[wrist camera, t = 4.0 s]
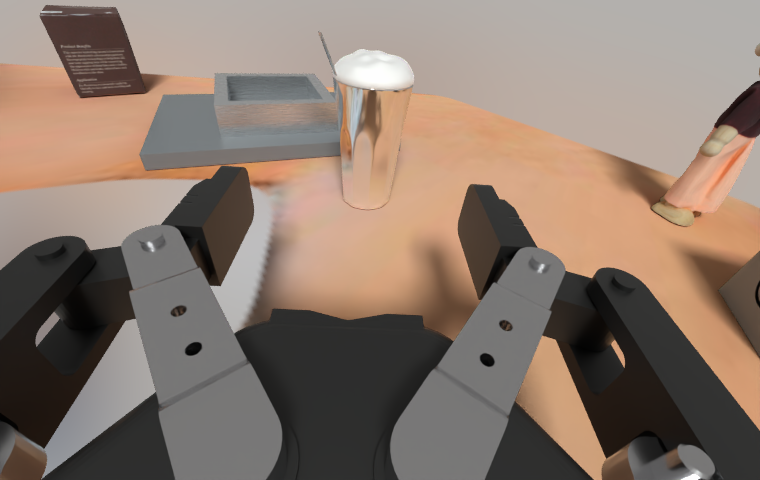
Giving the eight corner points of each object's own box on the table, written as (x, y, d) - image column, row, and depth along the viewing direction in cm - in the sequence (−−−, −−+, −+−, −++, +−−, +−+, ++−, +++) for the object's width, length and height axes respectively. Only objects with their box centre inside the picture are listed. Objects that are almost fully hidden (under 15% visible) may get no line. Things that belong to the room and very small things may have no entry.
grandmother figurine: (705, 242, 23) (901, 23, 15) (642, 217, 25) (788, 11, 17) (709, 201, 28) (861, 20, 20) (656, 184, 29) (775, 11, 21)
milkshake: (313, 188, 24) (306, 24, 18) (381, 178, 26) (395, 28, 20) (334, 223, 21) (333, 40, 15) (408, 209, 23) (436, 42, 17)
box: (142, 80, 40) (118, 6, 36) (147, 94, 36) (120, 14, 32) (79, 83, 37) (44, 4, 33) (77, 99, 34) (36, 12, 29)
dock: (145, 170, 24) (125, 118, 22) (167, 107, 34) (154, 67, 32) (399, 150, 30) (404, 109, 28) (354, 102, 40) (356, 68, 38)
